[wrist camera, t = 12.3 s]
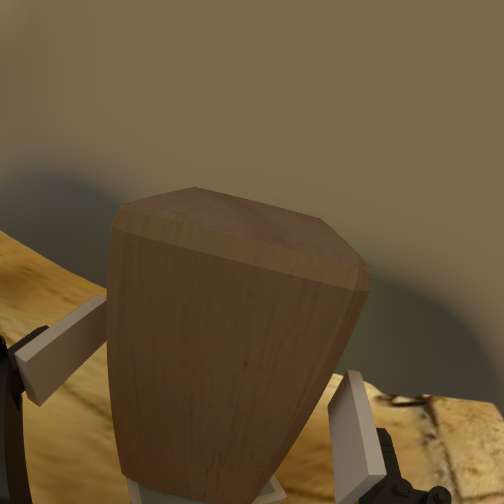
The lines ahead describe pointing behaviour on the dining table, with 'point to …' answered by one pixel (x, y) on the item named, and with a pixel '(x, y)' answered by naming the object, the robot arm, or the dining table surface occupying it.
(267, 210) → the block
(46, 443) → the dining table surface
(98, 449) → the dining table surface
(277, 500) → the tray
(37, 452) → the dining table surface
